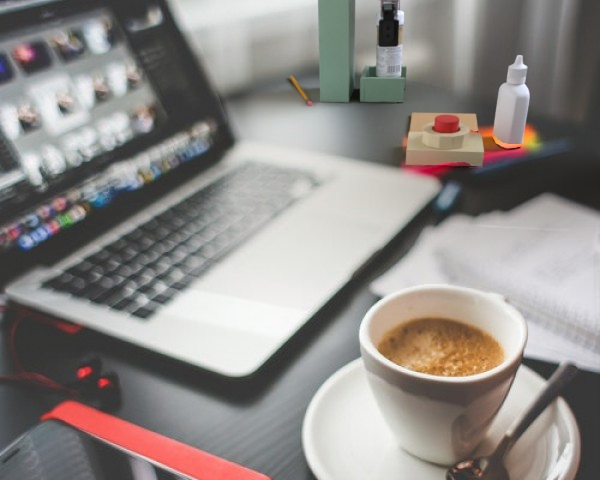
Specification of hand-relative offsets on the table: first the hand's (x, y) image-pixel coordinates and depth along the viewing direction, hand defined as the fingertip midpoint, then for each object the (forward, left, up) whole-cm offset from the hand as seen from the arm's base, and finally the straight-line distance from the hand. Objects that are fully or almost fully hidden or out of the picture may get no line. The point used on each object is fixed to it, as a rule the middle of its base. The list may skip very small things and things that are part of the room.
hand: (389, 41), depth 105 cm
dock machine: (+4, 0, -9) cm, 10 cm away
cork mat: (-10, +16, -9) cm, 21 cm away
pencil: (+16, -2, -9) cm, 19 cm away
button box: (-10, +28, -9) cm, 31 cm away
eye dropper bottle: (-18, +22, -9) cm, 30 cm away
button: (-10, +28, -5) cm, 30 cm away
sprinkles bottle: (0, 0, -9) cm, 9 cm away
